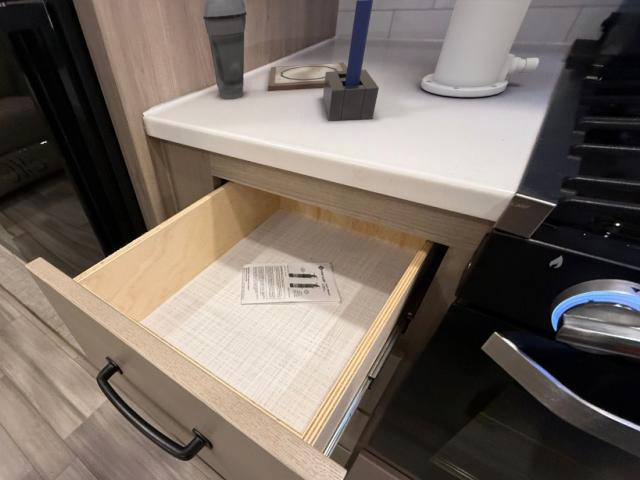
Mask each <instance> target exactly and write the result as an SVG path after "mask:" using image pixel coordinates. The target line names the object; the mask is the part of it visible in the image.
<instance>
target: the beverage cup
mask: <svg viewBox="0 0 640 480" xmlns="http://www.w3.org/2000/svg"><path fill="white" fill-rule="evenodd" d="M246 17H247V9H246V4H245V0H204V3H203V17H202V19H203V20H204V26H205V30H206V34H207V36H208V40H209V41H208V42H209V46H210V47H209V48H210V52H211V58H212V63H213V70H214V74H215V80H216V86H217V89H218V95H219V98H220V99H222V100H233V99H239V98H241V97H242V96H244V83H245V82H244V80H245V78H244V75H245V73H244V71H245V69H244V68H245V31H246V23H247V18H246Z"/></svg>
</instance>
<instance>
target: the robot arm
mask: <svg viewBox="0 0 640 480" xmlns="http://www.w3.org/2000/svg"><path fill="white" fill-rule="evenodd" d="M531 3H532V0H456V1H455V4H454V7H453V10H452V14H451V17H450V21H449V24H448V26H447V30H446V33H445V37H444V40H443V43H442V48H441V49H440V53H439V56H438V59H437V63H436V66H435V70H434V72H433V73H430V74H427V75H425V76H424V77H422V80H421V83H420V87H421V88H422V89H423V90H424V91H425V92H428V93H431V94H435V95H439V96H444V97H453V98H481V97H489V96H494V95H498V94H501V93H503V91H505V90H506V88H507V86H508V84H509V81H508V78H507V77H511V76H512V75H513V74H515V73H516V74H517V73H518V74H526V73H527V74H530V73H534V72H535V71H536V69H537V68H538V66H539V63H540V58H539V57H525V58H522V57H521V56H516V55H515V54H513V53H511V50H512V48H513V45H514V42H515V41H516V38H517V35H518V34H519V31H520V28H521V26H522V24H523V21H524V19H525V17H526V14H527V12H528V9H529V7H530V6H531Z"/></svg>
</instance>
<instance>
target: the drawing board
mask: <svg viewBox="0 0 640 480" xmlns="http://www.w3.org/2000/svg"><path fill="white" fill-rule="evenodd" d="M333 71H347V65H346V63H345V62H343V61H342V62H327V63H313V64H312V63H311V64H295V65H281V66H271V67H270V71H269V78H268V85H267V90H268V91H285V90H304V89H319V88H324V84H325V74H326V72H333Z"/></svg>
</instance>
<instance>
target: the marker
mask: <svg viewBox="0 0 640 480" xmlns="http://www.w3.org/2000/svg"><path fill="white" fill-rule="evenodd" d="M373 4H374V0H356V2H355V9H354V15H353V16H354V17H353V23H352V31H351V39H350V47H349V53H348V59H347V65H346V67H347V73H346V81H345V86H356V85H359V82H360V76H361V70H363V69H362V68H363V63H364V57H365V51H366V45H367V39H368V34H369V33H368V32H369V27H370V21H371V17H372V16H371V15H372V8H373Z"/></svg>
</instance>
